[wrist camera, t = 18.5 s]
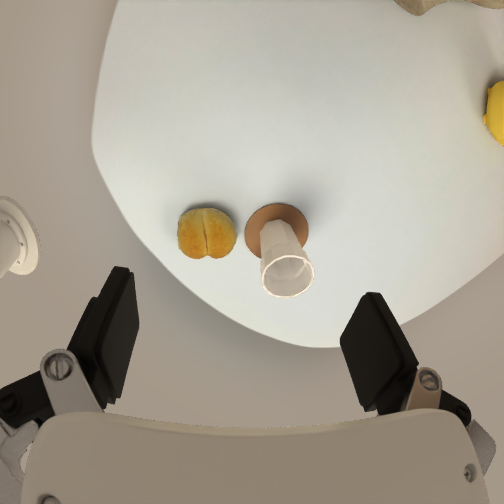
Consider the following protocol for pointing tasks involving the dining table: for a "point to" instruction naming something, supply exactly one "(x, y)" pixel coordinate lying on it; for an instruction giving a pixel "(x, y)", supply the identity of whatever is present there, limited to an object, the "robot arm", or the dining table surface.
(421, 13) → the vase
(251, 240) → the coaster
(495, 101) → the teapot
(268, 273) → the cup
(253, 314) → the dining table surface
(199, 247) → the bread roll
